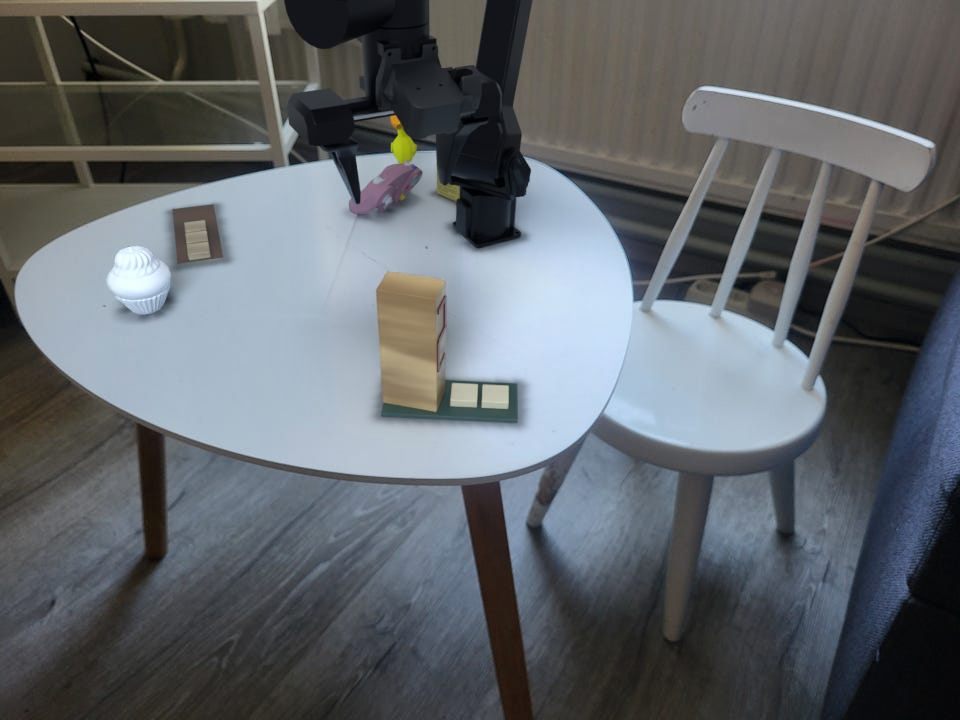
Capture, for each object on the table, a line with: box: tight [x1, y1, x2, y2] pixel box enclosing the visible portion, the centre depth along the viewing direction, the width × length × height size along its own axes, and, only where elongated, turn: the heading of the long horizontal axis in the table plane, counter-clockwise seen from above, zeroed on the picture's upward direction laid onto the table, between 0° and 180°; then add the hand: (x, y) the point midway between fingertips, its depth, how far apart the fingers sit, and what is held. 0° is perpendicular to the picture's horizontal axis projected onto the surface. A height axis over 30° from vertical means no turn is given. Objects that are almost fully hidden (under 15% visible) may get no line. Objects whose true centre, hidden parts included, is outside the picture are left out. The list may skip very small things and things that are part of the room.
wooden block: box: [375, 270, 448, 412], centre depth 64 cm, size 3×5×12 cm, turn 77°
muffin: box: [106, 245, 172, 316], centre depth 76 cm, size 6×6×7 cm
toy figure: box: [389, 115, 418, 164], centre depth 102 cm, size 7×4×12 cm, turn 172°
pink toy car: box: [348, 160, 423, 215], centre depth 96 cm, size 10×5×7 cm, turn 148°
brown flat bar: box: [172, 203, 224, 265], centre depth 90 cm, size 14×5×1 cm, turn 20°
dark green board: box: [381, 379, 518, 424], centre depth 68 cm, size 12×5×1 cm, turn 88°
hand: (401, 193), depth 72 cm, fingers open, 9 cm apart
